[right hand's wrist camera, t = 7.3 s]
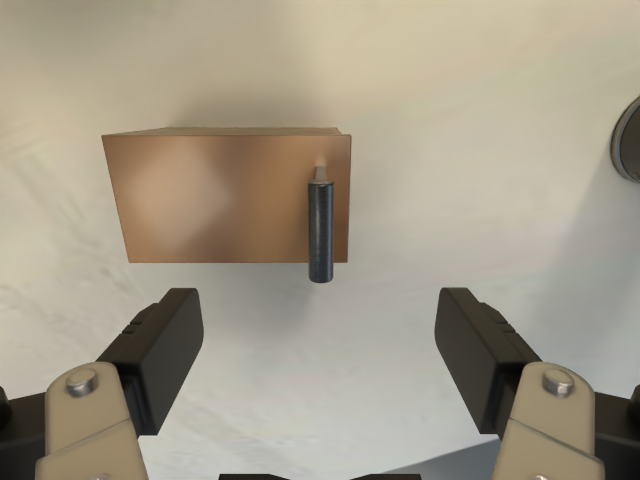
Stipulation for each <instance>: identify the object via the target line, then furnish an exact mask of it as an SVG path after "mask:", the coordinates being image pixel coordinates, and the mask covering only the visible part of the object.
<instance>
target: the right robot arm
mask: <svg viewBox="0 0 640 480" xmlns="http://www.w3.org/2000/svg"><path fill="white" fill-rule="evenodd" d="M612 157H613V161H614V164H615V166H616V168H617V170H618V171H619V172H620V174H622V175H623V176H624V177H625V178H627V179H628V180H630V181H633V182H636V183H640V97H639V98H638V99H637V100H636V101H635V102H634V103H633V104H632V105H631V106H630V107H629V108H628V109H627V110H626V112H625V113H624V115H623V116H622V118H621V119H620V121H619V123H618V125H617V128H616V130H615V133H614V136H613V141H612ZM203 336H204V329H203V321H202V314H201V307H200V300H199V294H198V291H197V289H196V288H171V289H170V290H169V291H168V292H167V293H166V295H165V296H164V297H163V298H162V299H161V301H160V302H159V303H153V304H152V305H150V306H148V307H147V308H145V309H144V310H142V311H140V312H139V313H138V314H137V315H136V316H135V317H134V319H133V320H132V321H131V322H130V325H127V326H126V328H125V329H124V330H123V331H122V334H119V335H118V336H117V338H116V339H115V340H114V341H113V342H112V343H111V344H110V345H109V347H108V348H107V349H106V350H105V351H104V352H103V353H102V354H101V356H100V357H99V358H98V359H97V360H96V361H95V362H91V363H87V364H84V365H80V366H78V367H75V368H73V369H71V370H69V371H67V372H65V373H64V374H62V375H61V376H59V377H58V378H57V379H56V380H54V381H53V382H52V384H51V385H50V386H49V387H48V389H47V391H46V392H44V393H39V394H35V395H30V396H26V397H21V398H17V399H12V400H8V399H7V396H6V394H5V392H4V389H3V388H2V387H1V386H0V480H149V478H148V475H147V471H146V468H145V464H144V461H143V457H142V454H141V450H140V447H139V443H138V438H139V436H140V435H158V433H159V431H160V429H161V427H162V425H163V423H164V421H165V419H166V417H167V415H168V413H169V411H170V409H171V407H172V405H173V403H174V401H175V399H176V397H177V395H178V393H179V391H180V389H181V387H182V385H183V383H184V381H185V379H186V377H187V375H188V373H189V371H190V369H191V367H192V365H193V363H194V361H195V359H196V357H197V355H198V353H199V351H200V349H201V346H202V343H203ZM435 341H436V345H437V347H438V350H439V352H440V354H441V356H442V358H443V360H444V362H445V364H446V366H447V368H448V370H449V372H450V374H451V376H452V378H453V380H454V382H455V384H456V386H457V388H458V390H459V392H460V394H461V396H462V398H463V400H464V402H465V404H466V406H467V408H468V410H469V412H470V414H471V416H472V418H473V420H474V422H475V424H476V426H477V428H478V430H479V432H480V434H498V436H499V438H500V440H501V442H502V444H501V447H500V450H499V454H498V457H497V461H496V464H495V468H494V471H493V475H492V478H491V480H640V385H637V386H636V387H635V389H634V392H633V394H632V397H631V399H626V398H621V397H617V396H612V395H608V394H603V393H598V392H594V391H593V389H592V387H591V386H590V385H589V384H588V382H587V381H586V380H584V379H583V378H582V377H581V376H579V375H578V374H576V373H575V372H573V371H571V370H569V369H567V368H565V367H562V366H560V365H556V364H553V363H549V362H543V361H542V360H541V359H540V358H539V357H538V355H537V354H536V353H535V352H534V351H533V350H532V349H531V348H530V346H529V345H528V344H527V343H526V342H525V341H524V340H523V339H522V337H521V336H520V335H519V334H518V333H516V332H515V330H514V328H513V327H512V326H511V325H510V324H508V322H507V320H506V319H505V318H504V317H503V316H502V315H501V314H500V313H499V311H497V310H495V309H494V308H492V307H490V306H489V305H487V304H486V303H479V301H478V300H477V299H476V298H475V297H474V295H473V294H472V293H471V292H470V291H469V289H468V288H442V289H441V291H440V294H439V301H438V308H437V315H436V322H435ZM218 480H289V479H286V478H282V477H278V476H275V475H271V474H220V476H219V479H218ZM351 480H422V479H421V476H420V474H369V475H365V476H362V477H358V478H354V479H351Z"/></svg>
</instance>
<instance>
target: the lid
mask: <svg viewBox="0 0 640 480" xmlns="http://www.w3.org/2000/svg"><path fill="white" fill-rule="evenodd" d="M101 137H102V141H103V146H104V150H105V155H106V160H107V164H108V169H109V173H110V178H111V182H112V187H113V192H114V196H115V201H116V205H117V210H118V214H119V219H120V223H121V228H122V233H123V237H124V242H125V246H126V251H127V255H128V260H129V263H309V279H310V280H311V281H313V282H316V283H326V282H329V281H331V280H332V279H333V263H347V262H348V231H349V199H350V167H351V135H350V134H109V135H102V136H101Z"/></svg>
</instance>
